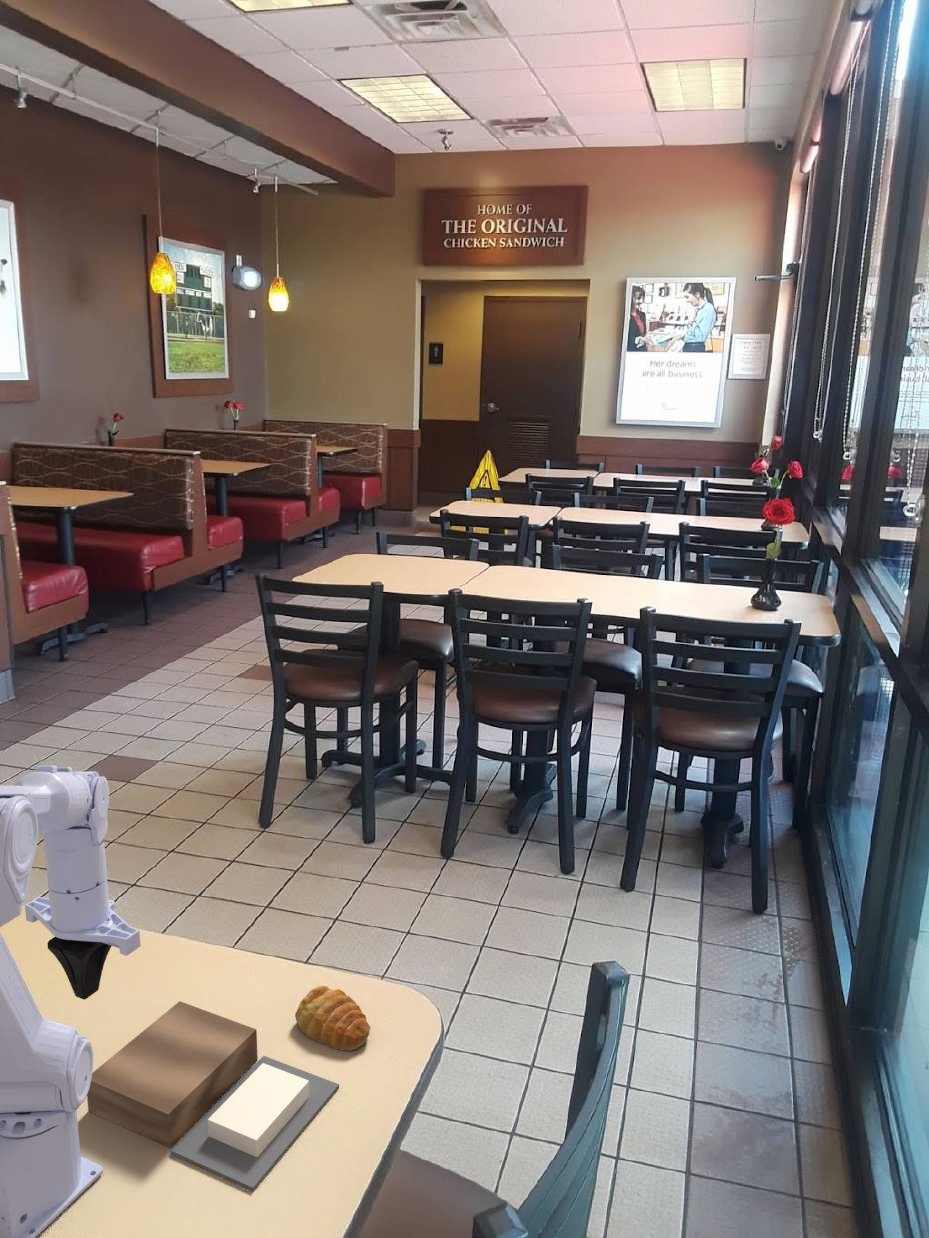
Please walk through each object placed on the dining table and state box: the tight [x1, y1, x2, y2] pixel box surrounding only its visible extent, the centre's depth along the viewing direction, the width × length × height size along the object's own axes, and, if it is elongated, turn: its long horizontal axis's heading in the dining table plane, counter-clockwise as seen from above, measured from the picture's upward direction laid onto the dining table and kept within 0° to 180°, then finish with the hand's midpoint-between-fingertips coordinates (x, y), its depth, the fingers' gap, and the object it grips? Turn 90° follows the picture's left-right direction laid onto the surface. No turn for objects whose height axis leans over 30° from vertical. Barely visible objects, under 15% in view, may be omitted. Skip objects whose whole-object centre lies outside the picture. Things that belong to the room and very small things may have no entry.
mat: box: [170, 1055, 340, 1192], centre depth 96 cm, size 15×10×1 cm, turn 155°
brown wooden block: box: [86, 1001, 259, 1149], centre depth 100 cm, size 14×11×4 cm
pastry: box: [294, 985, 371, 1052], centre depth 109 cm, size 9×7×4 cm
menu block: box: [208, 1063, 310, 1157], centre depth 96 cm, size 9×6×2 cm, turn 155°
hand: (87, 992), depth 100 cm, fingers closed
